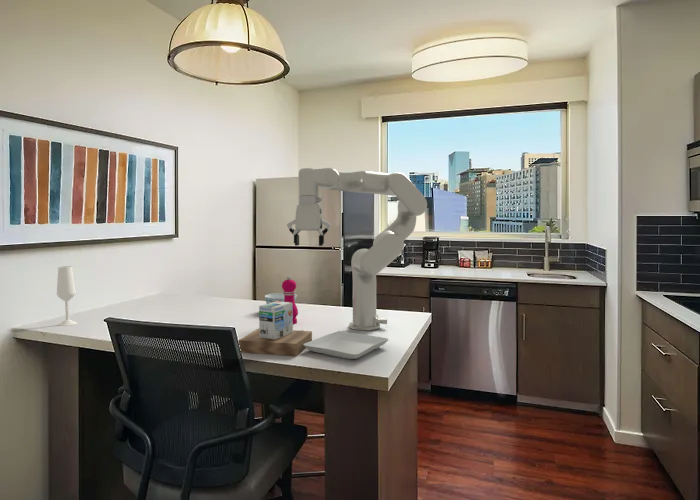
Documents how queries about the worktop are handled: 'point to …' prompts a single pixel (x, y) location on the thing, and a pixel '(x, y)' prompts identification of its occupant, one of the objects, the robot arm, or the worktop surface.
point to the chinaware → (276, 297)
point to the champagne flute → (66, 290)
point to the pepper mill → (290, 295)
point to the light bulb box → (275, 320)
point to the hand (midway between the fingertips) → (308, 245)
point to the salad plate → (345, 344)
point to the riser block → (275, 343)
